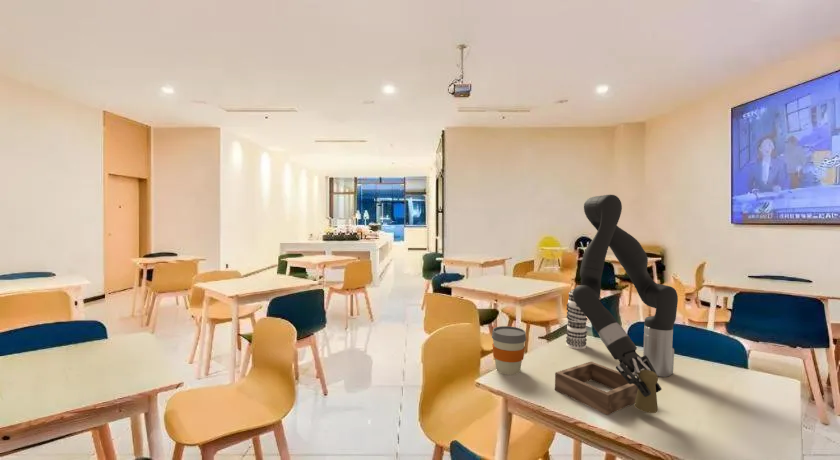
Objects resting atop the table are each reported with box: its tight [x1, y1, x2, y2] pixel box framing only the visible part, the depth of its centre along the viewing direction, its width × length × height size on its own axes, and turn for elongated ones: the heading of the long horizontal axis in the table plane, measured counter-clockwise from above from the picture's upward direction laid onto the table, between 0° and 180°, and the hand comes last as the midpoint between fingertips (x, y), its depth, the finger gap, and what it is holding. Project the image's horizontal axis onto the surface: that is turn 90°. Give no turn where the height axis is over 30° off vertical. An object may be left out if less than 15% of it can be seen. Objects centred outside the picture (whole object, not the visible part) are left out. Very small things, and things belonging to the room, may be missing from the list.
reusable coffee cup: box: [491, 325, 527, 376], centre depth 152 cm, size 13×13×15 cm
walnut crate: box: [554, 361, 638, 416], centre depth 133 cm, size 19×19×6 cm
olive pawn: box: [634, 370, 659, 414], centre depth 119 cm, size 6×6×11 cm
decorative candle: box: [565, 288, 588, 350], centre depth 179 cm, size 9×9×25 cm
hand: (653, 393), depth 117 cm, fingers closed on olive pawn, 5 cm apart
